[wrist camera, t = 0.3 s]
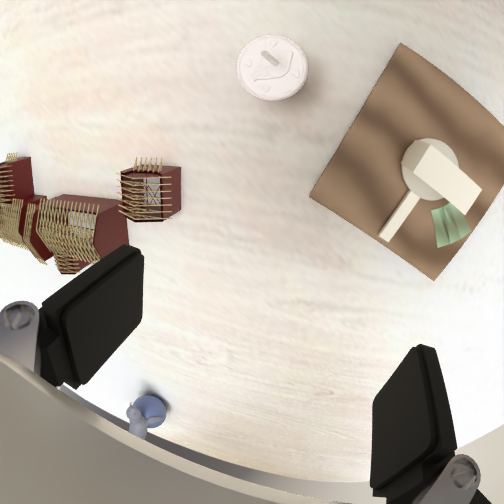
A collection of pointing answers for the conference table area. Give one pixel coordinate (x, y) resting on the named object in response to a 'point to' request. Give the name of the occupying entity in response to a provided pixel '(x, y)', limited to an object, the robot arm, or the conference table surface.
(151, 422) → the seal
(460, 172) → the peg knob
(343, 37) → the conference table surface
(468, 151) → the dial board
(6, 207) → the toy houses
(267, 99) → the smoothie
